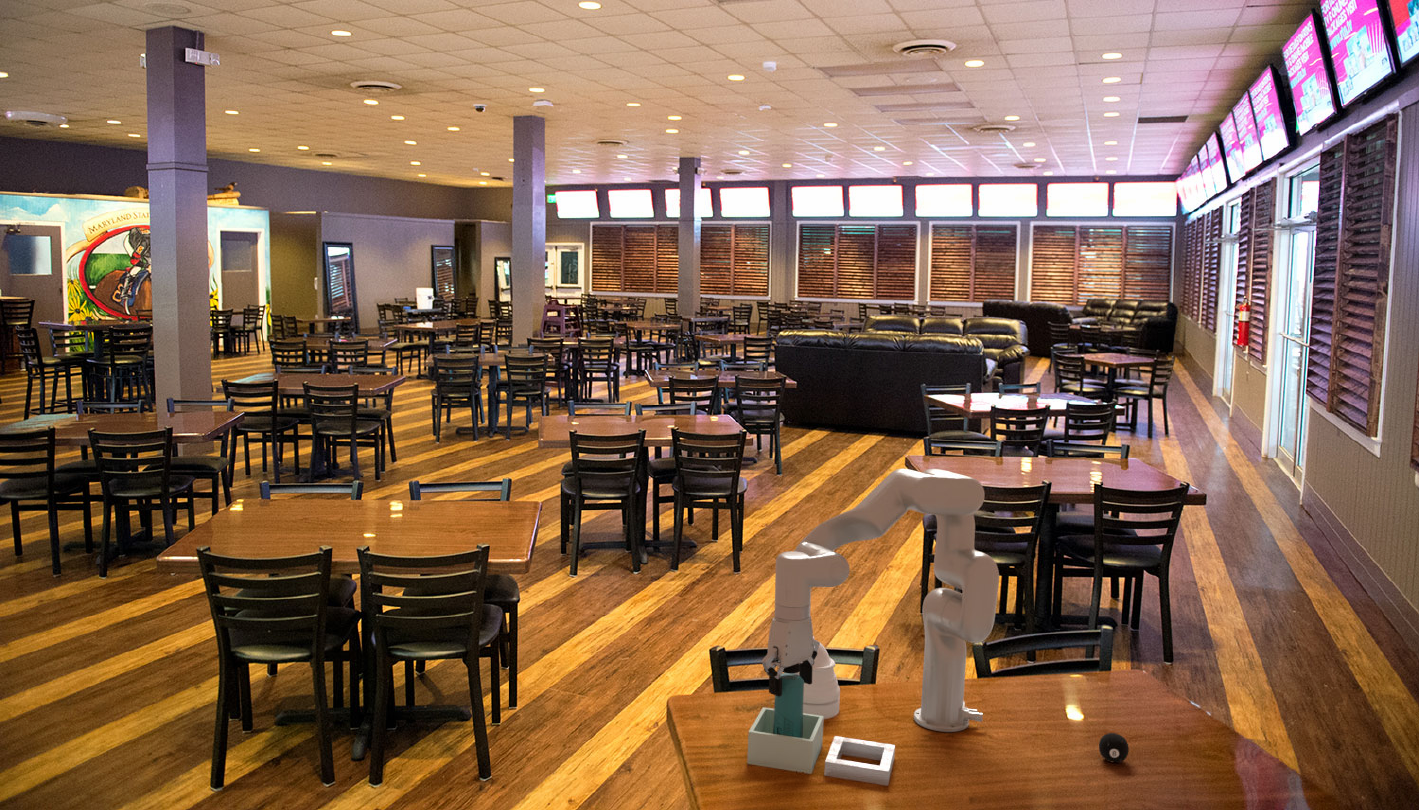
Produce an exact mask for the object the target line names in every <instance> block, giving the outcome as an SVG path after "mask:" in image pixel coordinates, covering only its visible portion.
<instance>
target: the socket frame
mask: <svg viewBox="0 0 1419 810" xmlns="http://www.w3.org/2000/svg"><path fill="white" fill-rule="evenodd" d="M895 754H896V745H895V744H891V743H883V742H877V741H870V740H864V739H863V740H862V739H858V738H851V737H844V736H843V737H842V736H838V735H834V737H833V740H832V742H831V744H830V747H829V751H828V753H827V756H826V758H825V761H824V774H823V775H824V776H826V777H833V778H839V779H844V780H850V781H856V782H857V781H858V782H863V783H869V784H876V785H881V786H886V787H887V786H889V783H890V779H891V774H892V770H893V766H894V761H895ZM842 755H843V756H850V757H854V758H855V757H856V758H863V759H869V760H875V761H880V764H879V765H877V764H870V763H864V762H857V761H852V760H846V759H842Z"/></svg>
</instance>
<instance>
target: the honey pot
mask: <svg viewBox="0 0 1419 810" xmlns="http://www.w3.org/2000/svg"><path fill="white" fill-rule="evenodd" d="M813 640H816V639H815V636H814V635H813ZM816 641H818V640H816ZM814 661H815V663H814V665H813V666H812V684H810V685H809V684H807V683H804V695H803V713H806V714H813V715H820V716H824V720H827V719H831V718H834V717H836V716H837V715H838V714H839V713H840V702H841V701H840V698H841V697H840V696H841V695H840V694H841V688H840V686H839V683H838V679H837V674H836V672H835V669H834V668H835V667H836V661H835V660H834V659H832V658H831V657H830V656H829V653H828V651H827V649H826V648H825V646H824V644H822V643H821V642H820V645H819V648H818V651H817V656H816V658H815V660H814ZM800 663H803V662H800ZM800 663H799V665H800ZM795 674H798V675H799V672H798V673H795Z"/></svg>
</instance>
